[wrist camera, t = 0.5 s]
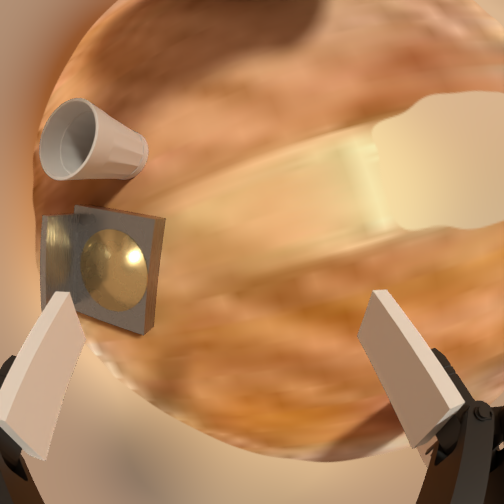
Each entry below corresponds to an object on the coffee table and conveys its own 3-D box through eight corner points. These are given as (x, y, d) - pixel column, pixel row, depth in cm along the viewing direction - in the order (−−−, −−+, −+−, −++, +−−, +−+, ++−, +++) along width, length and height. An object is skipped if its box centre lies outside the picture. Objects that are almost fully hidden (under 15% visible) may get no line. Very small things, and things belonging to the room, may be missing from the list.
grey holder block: (88, 204, 35) (42, 205, 26) (165, 218, 34) (127, 222, 25) (82, 304, 37) (42, 325, 29) (153, 329, 36) (120, 359, 28)
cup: (136, 196, 34) (74, 194, 22) (93, 171, 34) (29, 163, 23) (165, 137, 33) (112, 110, 21) (119, 117, 33) (61, 90, 21)
